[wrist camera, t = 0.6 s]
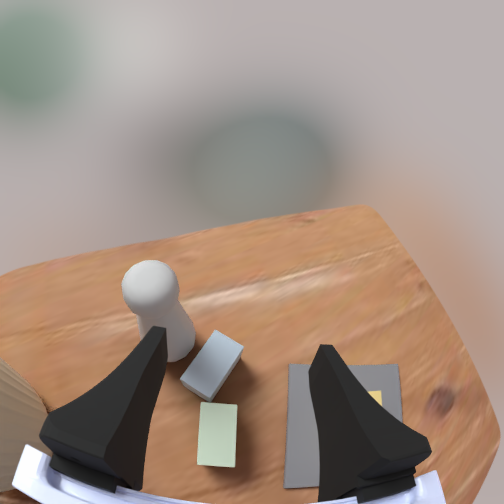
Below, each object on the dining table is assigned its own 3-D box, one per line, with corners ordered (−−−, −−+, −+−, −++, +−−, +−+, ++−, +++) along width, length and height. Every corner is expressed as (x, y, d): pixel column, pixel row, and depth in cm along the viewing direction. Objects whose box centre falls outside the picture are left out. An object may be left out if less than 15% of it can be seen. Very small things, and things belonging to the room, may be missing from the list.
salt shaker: (195, 318, 31) (189, 245, 21) (198, 366, 28) (190, 316, 17) (145, 319, 30) (114, 247, 20) (144, 367, 27) (104, 316, 16)
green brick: (231, 463, 22) (234, 467, 19) (199, 460, 21) (197, 464, 18) (234, 409, 25) (237, 404, 22) (202, 406, 25) (200, 401, 22)
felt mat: (400, 470, 21) (402, 470, 21) (283, 487, 20) (284, 488, 20) (395, 365, 30) (397, 363, 29) (288, 364, 29) (289, 363, 29)
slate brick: (210, 403, 25) (209, 397, 22) (184, 386, 26) (179, 378, 23) (240, 358, 29) (243, 346, 26) (215, 343, 30) (215, 329, 27)
